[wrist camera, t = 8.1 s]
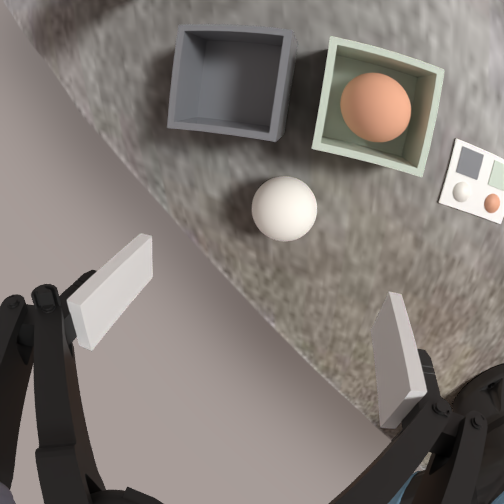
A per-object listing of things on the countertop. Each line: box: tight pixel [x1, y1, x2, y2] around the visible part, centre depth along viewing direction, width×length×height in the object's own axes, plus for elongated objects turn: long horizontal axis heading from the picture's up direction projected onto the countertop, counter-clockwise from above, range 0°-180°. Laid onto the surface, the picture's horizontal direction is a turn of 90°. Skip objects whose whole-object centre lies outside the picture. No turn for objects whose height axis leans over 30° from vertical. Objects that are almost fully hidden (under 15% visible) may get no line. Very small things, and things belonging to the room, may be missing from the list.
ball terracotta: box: [340, 73, 411, 142], centre depth 22 cm, size 6×6×6 cm
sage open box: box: [312, 36, 444, 177], centre depth 23 cm, size 9×9×6 cm
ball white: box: [252, 176, 317, 241], centre depth 29 cm, size 6×6×6 cm
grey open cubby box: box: [167, 24, 298, 142], centre depth 24 cm, size 9×9×6 cm
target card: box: [439, 139, 504, 224], centre depth 25 cm, size 7×9×1 cm
